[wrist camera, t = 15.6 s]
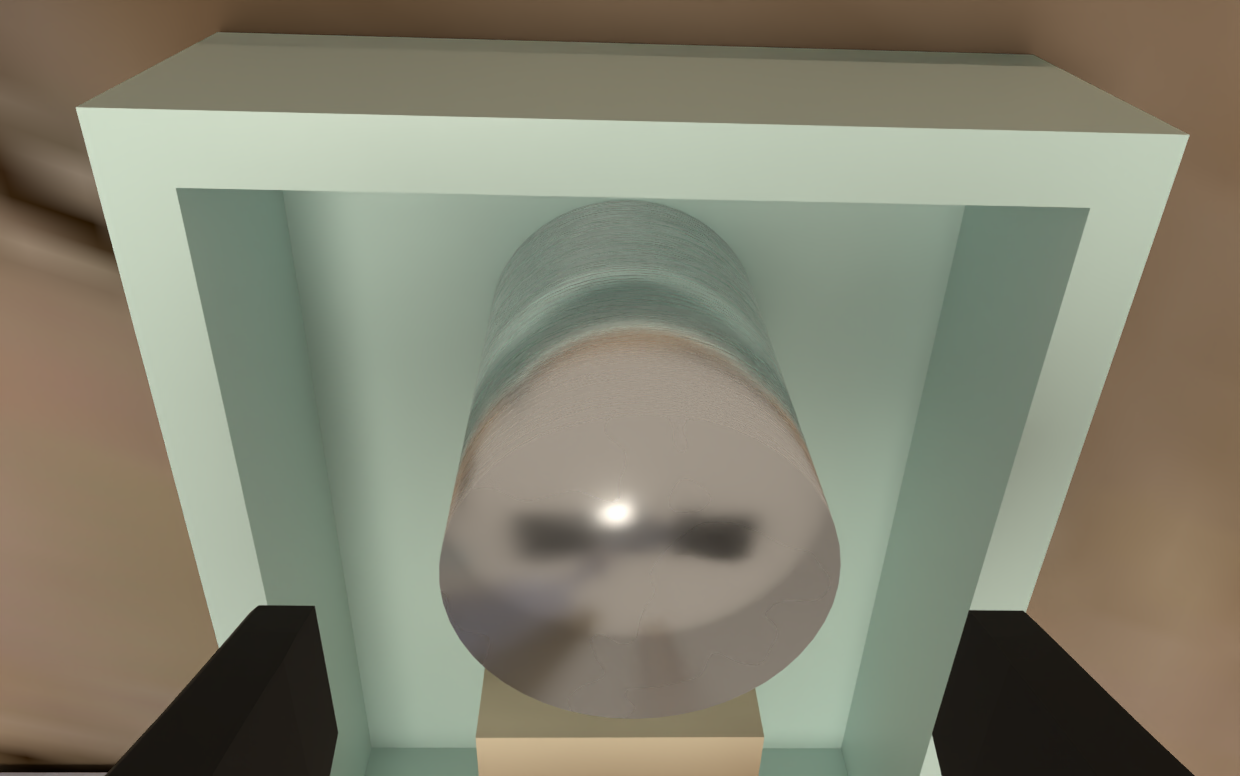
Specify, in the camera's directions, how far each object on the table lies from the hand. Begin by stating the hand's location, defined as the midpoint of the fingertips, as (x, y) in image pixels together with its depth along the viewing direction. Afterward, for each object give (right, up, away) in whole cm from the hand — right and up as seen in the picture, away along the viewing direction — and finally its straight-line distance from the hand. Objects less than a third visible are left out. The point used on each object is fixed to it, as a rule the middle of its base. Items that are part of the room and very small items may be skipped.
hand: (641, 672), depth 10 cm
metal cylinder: (0, +4, +7) cm, 8 cm away
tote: (0, +1, +10) cm, 10 cm away
